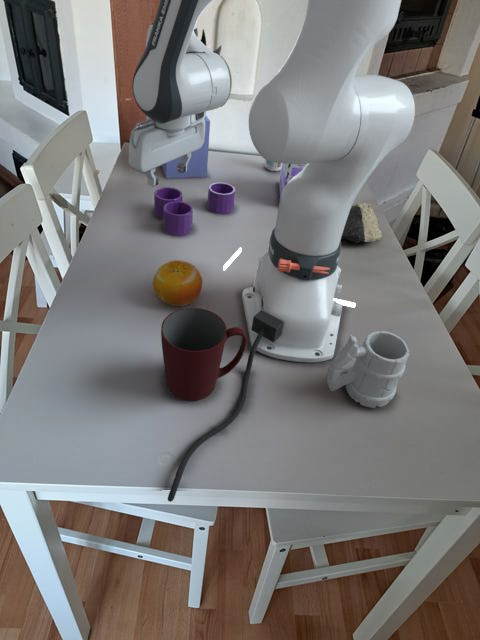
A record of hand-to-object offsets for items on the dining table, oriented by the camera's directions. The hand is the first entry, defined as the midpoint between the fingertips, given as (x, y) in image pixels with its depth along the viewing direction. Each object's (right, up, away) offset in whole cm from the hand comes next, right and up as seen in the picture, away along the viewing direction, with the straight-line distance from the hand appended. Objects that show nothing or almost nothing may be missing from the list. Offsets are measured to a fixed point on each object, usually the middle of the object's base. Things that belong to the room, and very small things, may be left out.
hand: (167, 178), depth 103 cm
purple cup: (-1, -7, +5) cm, 8 cm away
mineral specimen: (+40, -11, +7) cm, 42 cm away
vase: (+1, +10, +24) cm, 26 cm away
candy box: (+29, +1, +18) cm, 34 cm away
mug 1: (+10, -41, -31) cm, 52 cm away
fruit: (+4, -27, -17) cm, 32 cm away
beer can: (+25, +12, +30) cm, 41 cm away
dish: (+2, -11, +1) cm, 11 cm away
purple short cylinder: (+11, -4, +10) cm, 15 cm away
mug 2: (+34, -42, -30) cm, 62 cm away
